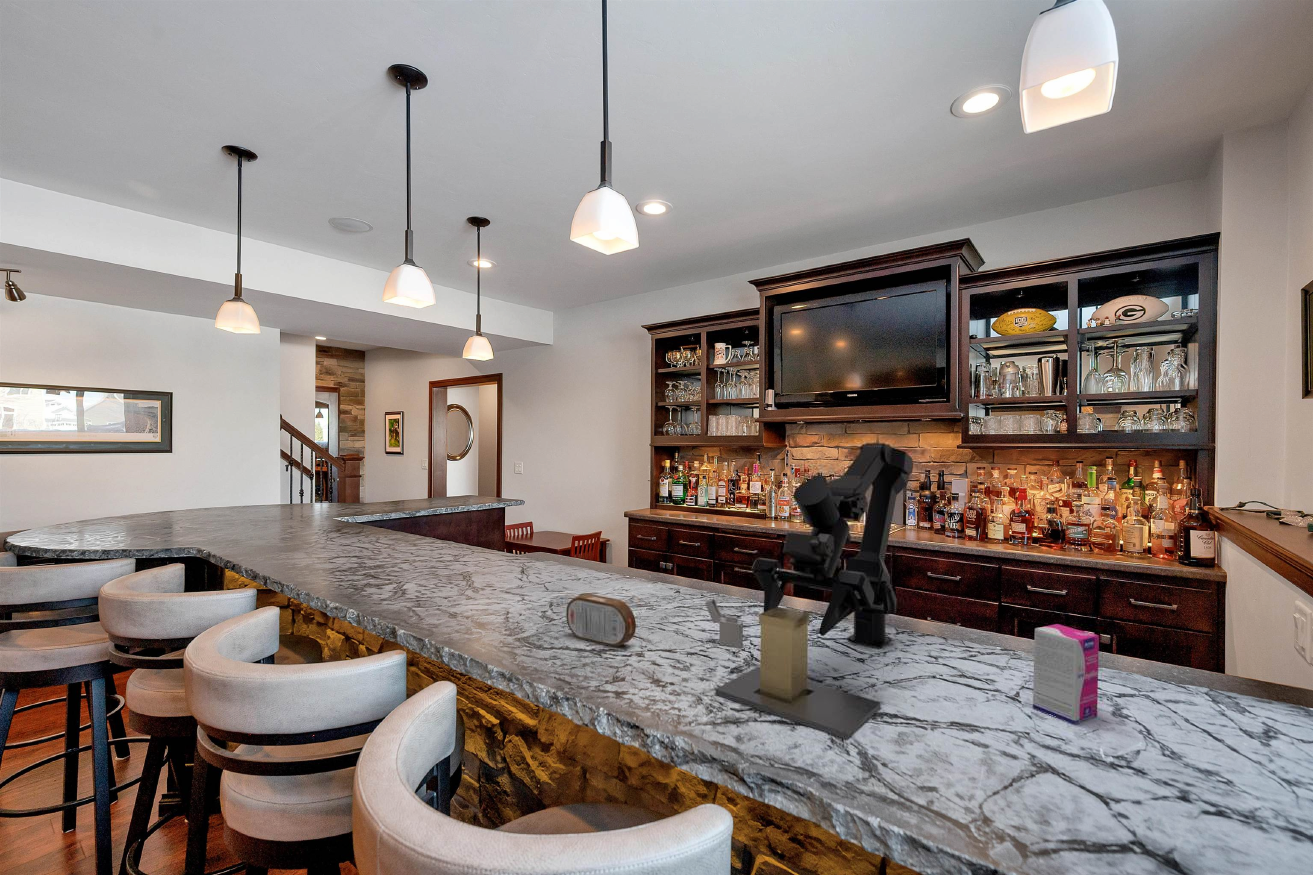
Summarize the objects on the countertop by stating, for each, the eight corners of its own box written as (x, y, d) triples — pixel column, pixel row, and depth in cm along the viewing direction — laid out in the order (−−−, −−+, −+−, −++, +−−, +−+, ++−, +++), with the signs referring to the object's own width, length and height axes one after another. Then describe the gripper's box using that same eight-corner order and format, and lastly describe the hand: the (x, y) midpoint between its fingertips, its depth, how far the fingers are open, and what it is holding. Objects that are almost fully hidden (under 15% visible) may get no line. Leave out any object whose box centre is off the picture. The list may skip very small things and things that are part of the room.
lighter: (743, 645, 108) (743, 602, 109) (739, 648, 107) (740, 604, 107) (708, 638, 112) (708, 597, 112) (704, 641, 110) (704, 599, 110)
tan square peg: (776, 686, 90) (777, 607, 90) (809, 696, 86) (809, 613, 86) (758, 697, 85) (758, 614, 86) (791, 708, 82) (792, 621, 82)
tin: (636, 647, 107) (637, 601, 107) (626, 652, 104) (627, 604, 104) (573, 632, 115) (574, 589, 115) (563, 636, 112) (563, 592, 112)
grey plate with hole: (757, 671, 95) (757, 666, 96) (880, 707, 83) (880, 702, 83) (715, 694, 86) (715, 689, 86) (846, 739, 73) (846, 732, 73)
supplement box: (1077, 726, 78) (1076, 639, 78) (1031, 708, 83) (1031, 627, 83) (1100, 717, 80) (1099, 633, 81) (1054, 700, 86) (1054, 622, 86)
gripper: (757, 509, 98) (719, 585, 90) (867, 519, 86) (836, 608, 78) (780, 550, 104) (746, 626, 95) (886, 565, 92) (858, 653, 83)
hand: (792, 627), depth 88 cm, fingers open, 9 cm apart
